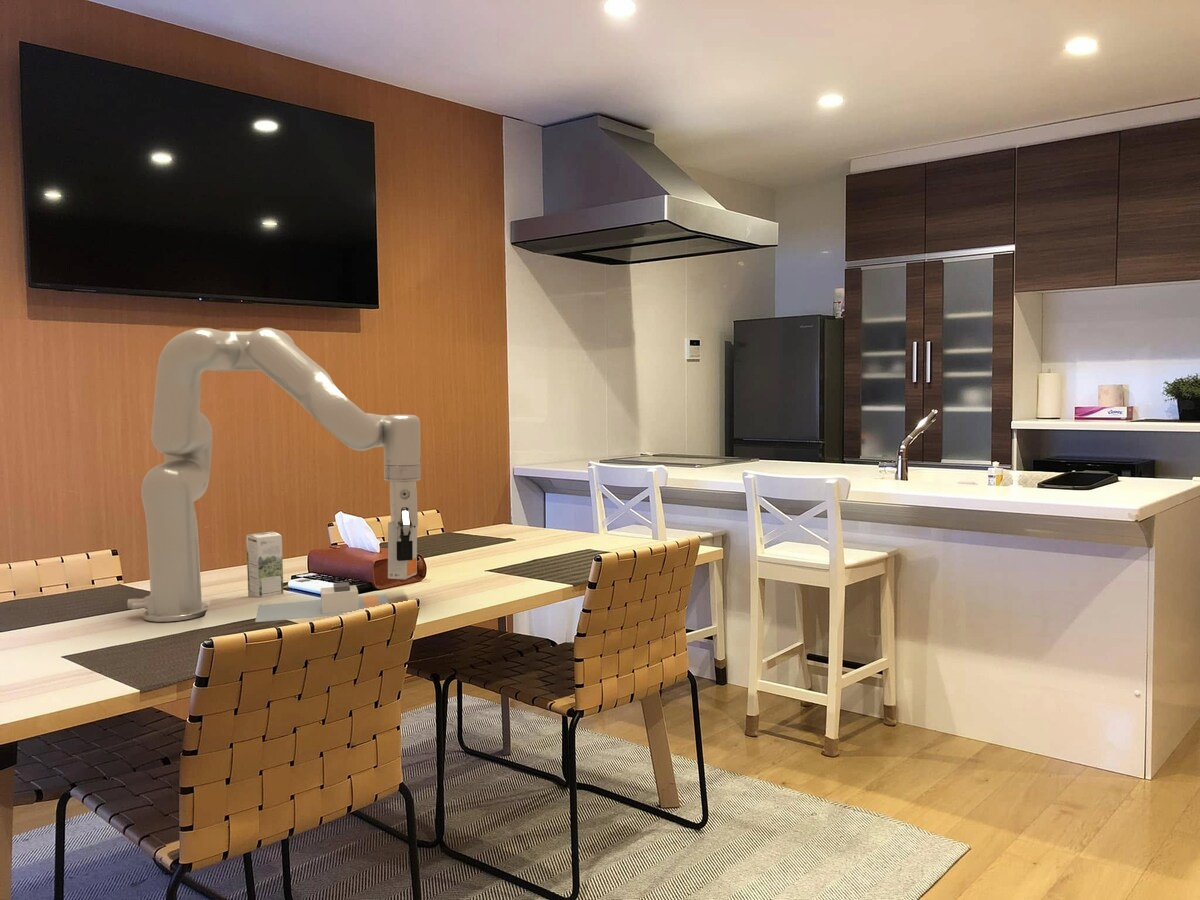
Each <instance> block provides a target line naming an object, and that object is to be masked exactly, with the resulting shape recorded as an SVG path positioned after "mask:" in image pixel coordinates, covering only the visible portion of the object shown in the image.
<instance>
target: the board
mask: <svg viewBox="0 0 1200 900" xmlns="http://www.w3.org/2000/svg"><path fill="white" fill-rule="evenodd" d="M386 603H390V602H389V598H388V596H387V594H384V593H383V594H374V595H362V596H358V604H359V609H364V608H369V607H375V606H379V605H382V604H386ZM257 607H258V608H257V611H256V617H255V621H254V623H263V622H264V623H266V622H274V621H275V622H276V621H285V620H298V619H307V618H317V617H318V618H319V617H320V618H321V617H331V616H340V615H339V614H343V613H347V612H339V613H328V614H323V613H322V607H321V599H315V600H303V601H302V600H301V601H291V602H280V603H279V602H276V603H268V604H267V603H265V604H258V606H257ZM349 612H352V611H349ZM343 615H344V614H343Z"/></svg>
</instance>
